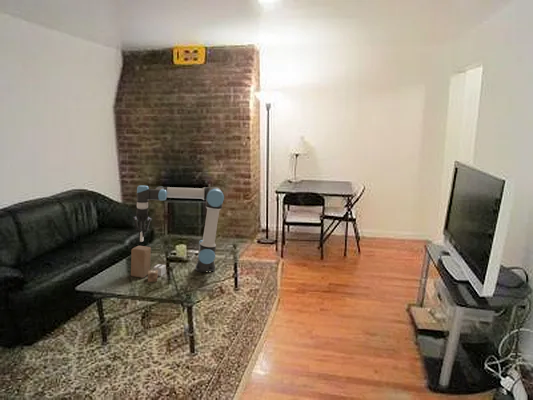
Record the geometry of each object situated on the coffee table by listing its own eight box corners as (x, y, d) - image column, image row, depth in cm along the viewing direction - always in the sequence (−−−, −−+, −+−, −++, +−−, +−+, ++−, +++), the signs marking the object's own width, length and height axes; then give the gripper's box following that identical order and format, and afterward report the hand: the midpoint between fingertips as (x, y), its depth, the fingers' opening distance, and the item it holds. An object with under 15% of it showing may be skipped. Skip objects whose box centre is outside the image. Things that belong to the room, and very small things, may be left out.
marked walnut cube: (157, 278, 259) (157, 269, 258) (157, 281, 253) (157, 273, 252) (148, 278, 258) (148, 270, 257) (147, 281, 252) (148, 273, 251)
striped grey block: (165, 273, 270) (165, 264, 269) (161, 276, 263) (161, 268, 262) (158, 271, 271) (158, 263, 270) (153, 275, 264) (153, 266, 263)
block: (143, 278, 257) (144, 250, 254) (130, 276, 259) (130, 248, 255) (150, 273, 266) (151, 246, 263) (137, 271, 268) (138, 245, 265)
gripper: (153, 207, 258) (152, 240, 262) (135, 206, 259) (134, 239, 262) (150, 209, 251) (149, 243, 255) (130, 208, 251) (130, 241, 255)
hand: (141, 241), depth 259 cm, fingers closed
